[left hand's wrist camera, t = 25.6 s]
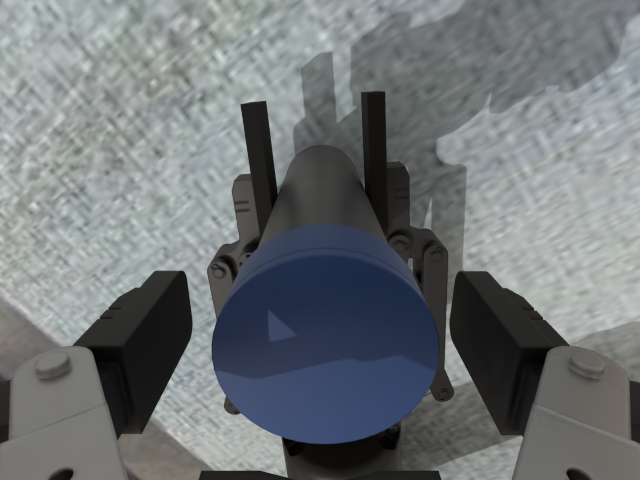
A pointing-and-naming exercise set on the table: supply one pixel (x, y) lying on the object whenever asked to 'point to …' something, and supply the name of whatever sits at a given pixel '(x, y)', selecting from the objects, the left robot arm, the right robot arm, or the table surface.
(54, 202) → the table surface
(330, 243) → the lid
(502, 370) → the left robot arm
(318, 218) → the dark grey bottle
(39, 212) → the table surface
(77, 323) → the table surface
